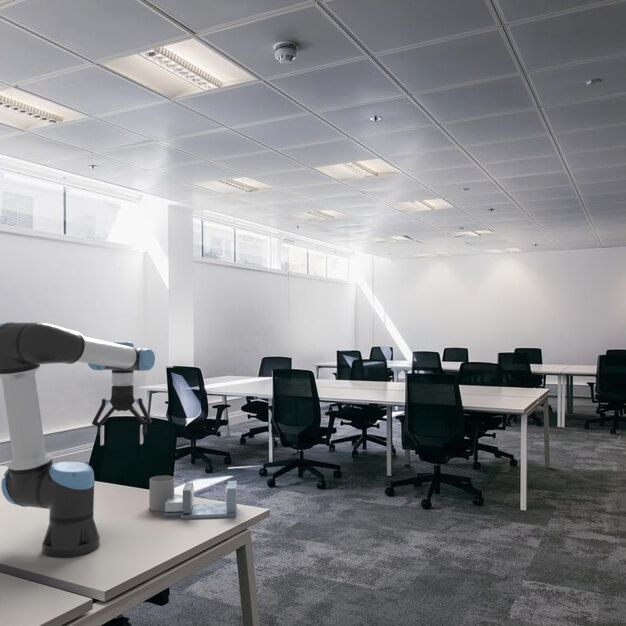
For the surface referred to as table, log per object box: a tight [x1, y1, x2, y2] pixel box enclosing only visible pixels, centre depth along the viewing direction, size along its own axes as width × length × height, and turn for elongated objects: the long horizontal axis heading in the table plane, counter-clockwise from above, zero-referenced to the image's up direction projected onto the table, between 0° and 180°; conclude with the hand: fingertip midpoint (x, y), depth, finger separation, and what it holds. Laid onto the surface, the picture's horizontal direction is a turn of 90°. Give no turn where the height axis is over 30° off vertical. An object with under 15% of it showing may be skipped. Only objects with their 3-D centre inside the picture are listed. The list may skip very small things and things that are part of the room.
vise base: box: [163, 480, 238, 520], centre depth 200 cm, size 12×24×9 cm, turn 97°
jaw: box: [165, 482, 195, 513], centre depth 199 cm, size 10×9×8 cm
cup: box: [148, 475, 175, 512], centre depth 207 cm, size 8×8×10 cm
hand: (121, 444), depth 211 cm, fingers open, 13 cm apart
